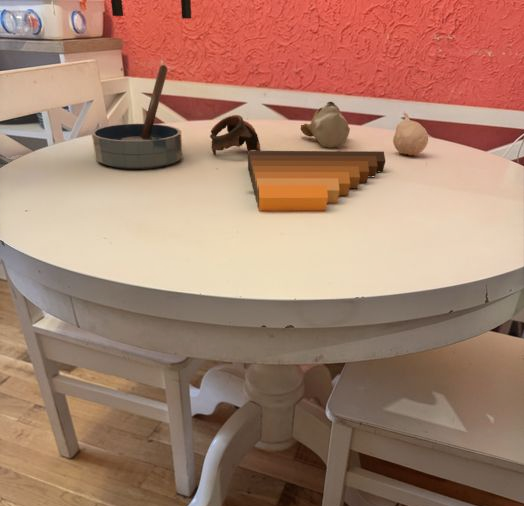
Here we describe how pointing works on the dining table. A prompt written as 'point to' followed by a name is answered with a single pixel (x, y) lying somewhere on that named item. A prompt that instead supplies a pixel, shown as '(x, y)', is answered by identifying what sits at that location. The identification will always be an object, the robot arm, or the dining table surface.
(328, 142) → the ceramic sculpture
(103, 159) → the bowl
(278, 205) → the pan flute
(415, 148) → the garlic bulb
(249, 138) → the brown hollow curved piece
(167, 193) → the dining table surface
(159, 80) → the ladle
